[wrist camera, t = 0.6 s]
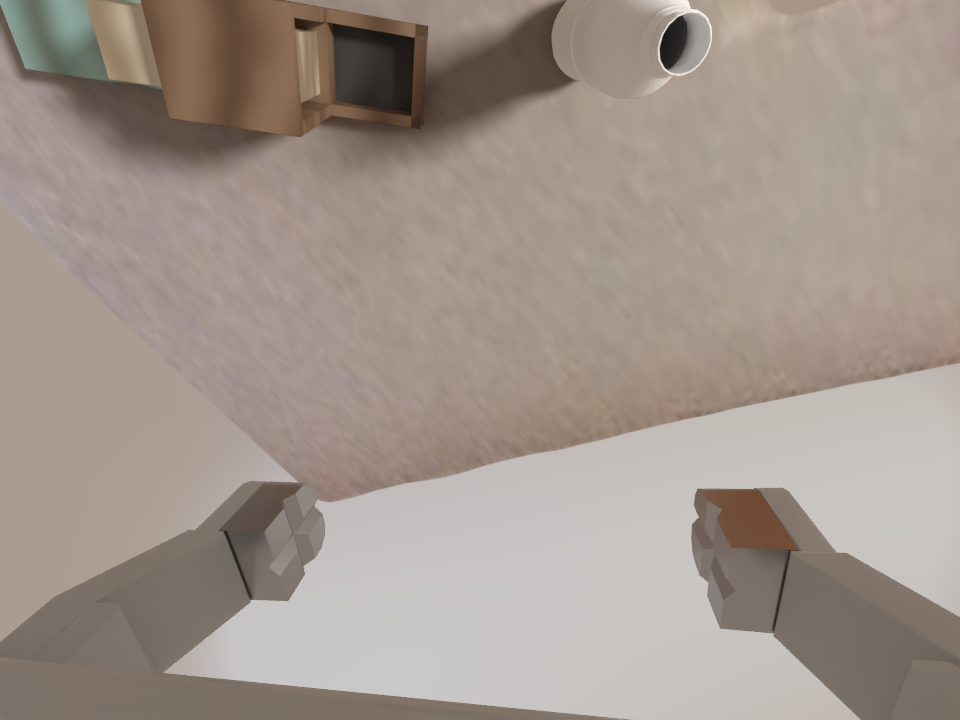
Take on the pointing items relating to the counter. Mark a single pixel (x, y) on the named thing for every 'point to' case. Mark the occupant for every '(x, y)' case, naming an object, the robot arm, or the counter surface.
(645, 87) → the water bottle
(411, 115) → the walnut tunnel
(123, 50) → the maple block
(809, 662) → the robot arm
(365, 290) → the counter surface
